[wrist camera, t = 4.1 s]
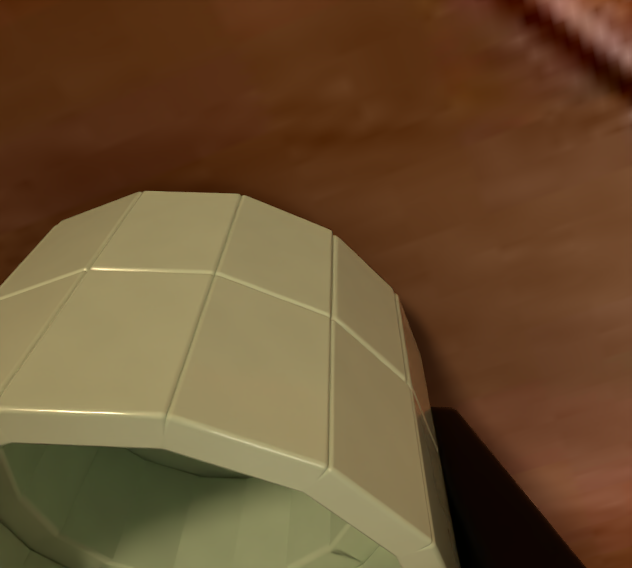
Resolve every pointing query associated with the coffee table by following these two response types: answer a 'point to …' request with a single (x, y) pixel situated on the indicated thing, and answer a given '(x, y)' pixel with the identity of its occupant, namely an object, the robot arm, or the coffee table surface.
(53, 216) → the coffee table surface
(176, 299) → the bowl
